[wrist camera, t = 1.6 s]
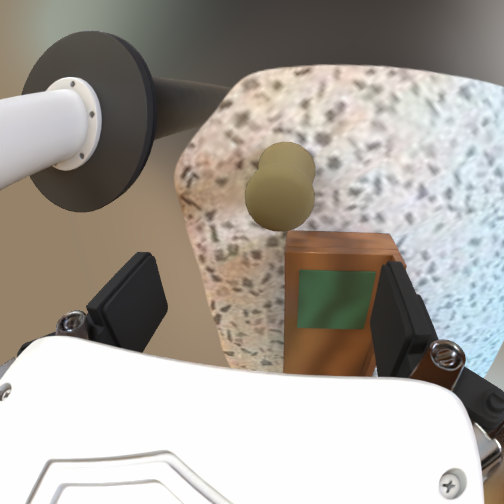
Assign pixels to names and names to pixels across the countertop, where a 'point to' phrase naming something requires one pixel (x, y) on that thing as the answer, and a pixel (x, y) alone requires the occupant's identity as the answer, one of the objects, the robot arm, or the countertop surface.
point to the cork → (282, 187)
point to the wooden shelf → (332, 300)
